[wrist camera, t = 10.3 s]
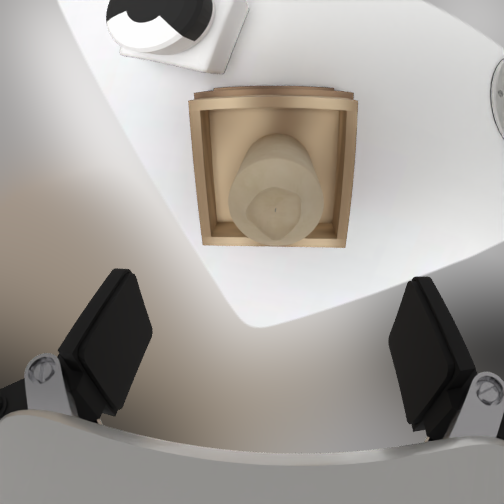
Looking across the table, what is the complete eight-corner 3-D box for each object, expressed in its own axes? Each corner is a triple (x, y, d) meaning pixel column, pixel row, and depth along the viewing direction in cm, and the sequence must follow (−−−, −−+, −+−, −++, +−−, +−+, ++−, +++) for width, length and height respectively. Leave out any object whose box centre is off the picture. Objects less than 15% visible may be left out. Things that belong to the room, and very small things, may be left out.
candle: (307, 198, 26) (319, 262, 17) (243, 193, 26) (224, 255, 18) (313, 135, 23) (333, 169, 14) (245, 131, 23) (223, 162, 15)
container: (177, -8, 21) (116, -48, 10) (250, 7, 22) (230, -41, 11) (153, 58, 25) (79, 54, 14) (223, 75, 26) (184, 71, 15)
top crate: (347, 98, 22) (357, 100, 19) (338, 228, 28) (345, 247, 25) (200, 98, 23) (188, 100, 20) (210, 226, 29) (202, 245, 26)
